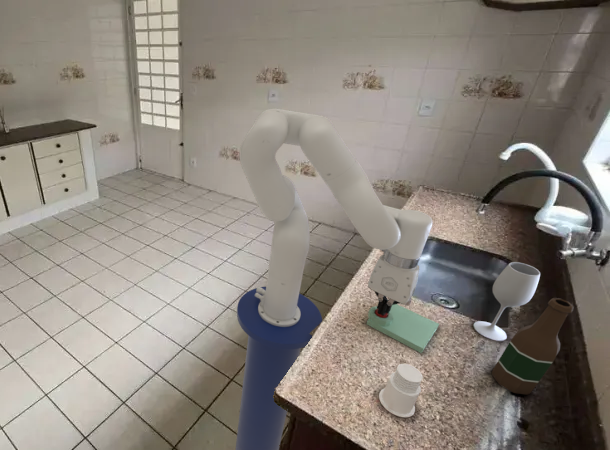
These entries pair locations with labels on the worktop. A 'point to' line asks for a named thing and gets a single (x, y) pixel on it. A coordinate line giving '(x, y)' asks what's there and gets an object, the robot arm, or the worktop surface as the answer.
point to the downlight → (402, 391)
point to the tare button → (380, 314)
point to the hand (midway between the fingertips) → (382, 312)
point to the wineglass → (510, 295)
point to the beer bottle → (532, 350)
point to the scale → (404, 326)
